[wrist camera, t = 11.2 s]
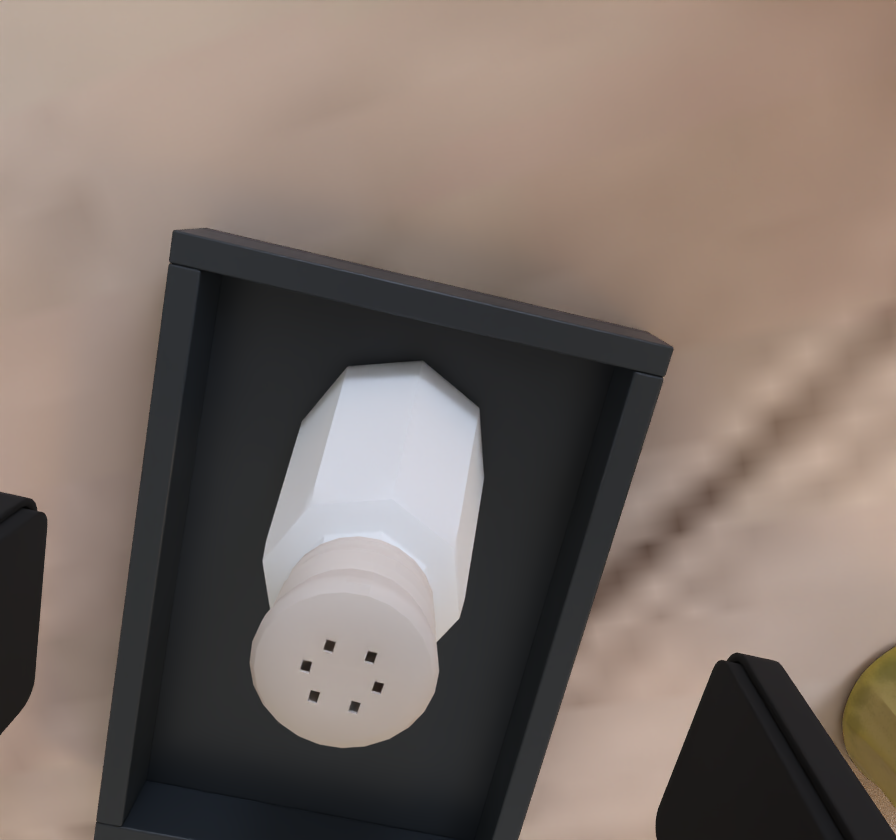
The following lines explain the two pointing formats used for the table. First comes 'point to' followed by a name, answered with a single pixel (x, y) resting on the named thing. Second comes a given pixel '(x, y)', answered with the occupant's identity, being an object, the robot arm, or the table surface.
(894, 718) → the vase
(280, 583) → the salt shaker
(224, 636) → the tray
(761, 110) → the table surface
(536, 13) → the table surface
